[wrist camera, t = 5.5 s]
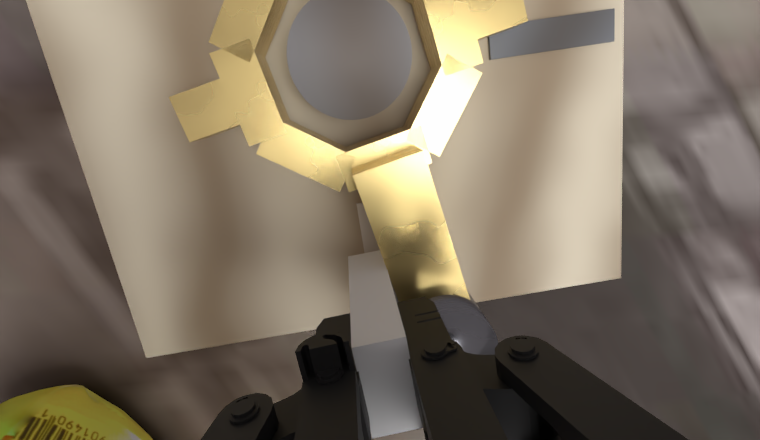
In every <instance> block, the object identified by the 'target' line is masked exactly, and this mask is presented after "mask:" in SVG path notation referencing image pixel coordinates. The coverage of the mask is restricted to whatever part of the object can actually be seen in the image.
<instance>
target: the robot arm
mask: <svg viewBox="0 0 760 440" xmlns="http://www.w3.org/2000/svg"><path fill="white" fill-rule="evenodd" d="M348 268H349V295H350V313H348V314H343V315H339V316H334V317H329V318H324V319H323V320H322V322H321V323H320V324H319V325H318V327H317V329H316V335H314V336H312V337H310V338H308V339H306V340H305V341H304V342H302V343H301V344H300V345H299V346H298V348H297V350H296V352H295V353H296V357H297V360H298V364H299V368H300V371H301V375H302V379H303V385H302V389H301V390H300V391H298V392H297V393H295V394H294V395H292V396H290V397H288V398H286V399H284V400H281V401H279V402H277V403H275V404H273V402H272V399H271V397H269V396H268V395H266V394H260V393H255V394H250V395H246V396H242V397H240V398H238V399H236V400H234V401H233V402H231V403H230V404H228V405H227V406H226V407H225V408H224V409H223V410H222V411H221V412H220V413H219V414H218V416H217V417H216V419H215V420H214V422H213V423H212V424H211V426H210V427H209V429H208V430H207V431H206V433H205V434H204V436H203V437H202V439H201V440H371V435H372V439H373V438H378V437H382V436H387V435H391V434H397V433H401V432H406V431H410V430H415V429H419V428H423V429H424V434H425V439H426V440H688V439H687V438H685V437H684V436H682V435H681V434H679V433H678V432H677V431H675V430H674V429H672V428H671V427H669V426H668V425H666V424H665V423H663V422H662V421H660V420H659V419H658V418H656V417H655V416H653V415H652V414H650V413H649V412H647V411H646V410H644V409H643V408H642V407H640V406H639V405H637V404H636V403H634V402H633V401H631V400H630V399H628V398H627V397H625V396H624V395H623V394H621V393H620V392H618V391H617V390H615V389H614V388H612V387H611V386H609V385H608V384H607V383H605V382H604V381H602V380H601V379H599V378H598V377H596V376H595V375H593V374H592V373H590V372H589V371H588V370H586V369H585V368H583V367H582V366H580V365H579V364H577V363H576V362H574V361H573V360H572V359H570V358H569V357H567V356H566V355H564V354H563V353H561V352H560V351H558V350H557V349H555V348H554V347H553V346H551V345H550V344H548V343H547V342H545V341H543V340H541V339H539V338H535V337H530V336H514V337H510V338H506V339H505V340H503V341H501V342H499V343H498V345H497V346H496V347H495V355H478V354H471V353H467V352H464V351H463V349H462V347H461V346H460V345H459V344H458V343H457V342H456V341H454V340H452V339H451V337H450V335H449V333H448V331H447V329H446V327H445V324H444V322H443V320H442V318H441V316H440V314H439V312H438V310H437V307H436V305H435V303H434V302H433V301H431V300H430V299H428V298H426V297H425V296H424V297H420V298H415V299H410V300H405V301H400V302H396V299H395V295H394V292H393V288H392V284H391V281H390V277H389V274H388V270H387V268H386V266H385V263H384V260H383V257H382V255H381V252H380V250H378V251H373V252H368V253H363V254H358V255H353V256H348ZM370 431H371V432H370Z"/></svg>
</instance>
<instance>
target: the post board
mask: <svg viewBox="0 0 760 440" xmlns="http://www.w3.org/2000/svg"><path fill="white" fill-rule="evenodd" d="M26 2H27V5H28V8H29V11H30V14H31V17H32V20H33V23H34V26H35V29H36V32H37V35H38V38H39V41H40V44H41V47H42V50H43V53H44V56H45V59H46V62H47V65H48V68H49V71H50V74H51V77H52V80H53V83H54V85H55V88H56V91H57V94H58V97H59V100H60V103H61V106H62V109H63V112H64V115H65V118H66V121H67V124H68V127H69V130H70V133H71V136H72V139H73V142H74V145H75V148H76V151H77V154H78V157H79V160H80V163H81V166H82V169H83V172H84V175H85V178H86V181H87V183H88V186H89V189H90V192H91V195H92V198H93V201H94V204H95V207H96V210H97V213H98V216H99V219H100V222H101V225H102V228H103V231H104V234H105V237H106V240H107V243H108V246H109V249H110V252H111V255H112V258H113V261H114V264H115V267H116V270H117V273H118V276H119V278H120V281H121V284H122V287H123V290H124V293H125V296H126V299H127V302H128V305H129V308H130V311H131V314H132V317H133V320H134V323H135V326H136V329H137V332H138V335H139V338H140V341H141V344H142V347H143V350H144V353H145V356H146V358H150V357H155V356H161V355H167V354H173V353H179V352H185V351H191V350H197V349H203V348H209V347H215V346H221V345H227V344H232V343H238V342H244V341H250V340H256V339H262V338H268V337H274V336H280V335H286V334H292V333H298V332H303V331H309V330H315V329H317V327H318V325H319V324H320V323H321V322H322V320H323V319H324V318H329V317H334V316H339V315H343V314H348V313H350V295H349V268H348V256H353V255H358V254H363V253H368V252H373V251H378V250H380V249H379V246H378V244H377V241H376V238H375V235H374V233H373V230H372V227H371V225H370V222H369V219H368V216H367V214H366V211H365V208H364V205H363V203H362V200H361V197H360V194H359V192H358V189H357V190H355V191H352V192H349V191H348V188H347V185H346V183H345V182H344V184H343V186H342V189H341V191H340V192H338V191H336V190H334V189H332V188H330V187H327V186H325V185H323V184H321V183H319V182H316V181H314V180H312V179H310V178H308V177H305V176H303V175H301V174H299V173H297V172H295V171H292V170H290V169H288V168H286V167H284V166H281V165H279V164H277V163H275V162H273V161H270V160H268V159H266V158H264V157H262V156H259V155H257V154H256V153H257V151H258V148H259V146H260V143H258V144H255V145H252V146H249V145H248V143H247V141H246V138H245V136H244V134H243V131H242V129H241V126H239V127H236V128H233V129H230V130H228V131H225V132H222V133H219V134H217V135H214V136H211V137H208V138H205V139H202V140H198V141H194V142H189V140H188V138H187V136H186V134H185V131H184V129H183V127H182V125H181V123H180V121H179V119H178V116H177V114H176V112H175V110H174V108H173V106H172V104H171V101H170V99H169V97H170V96H173V95H176V94H178V93H181V92H184V91H187V90H190V89H192V88H195V87H198V86H201V85H203V84H206V83H209V82H212V81H215V80H217V79H220V77H219V75H218V73H217V70H216V68H215V66H214V63H213V61H212V59H211V56H210V54H209V53H211V52H214V51H217V50H220V49H221V48H219V47H217V46H215V45H213V44H211V43H209V40H210V37H211V34H212V32H213V29H214V26H215V23H216V21H217V18H218V15H219V13H220V10H221V7H222V4H223V2H224V0H26ZM524 5H525V9H526V14H527V18H528V21H527V22H525V23H523V24H520V25H518V26H516V27H514V28H512V29H509V30H506V31H504V32H501V33H498V34H495V35H493V36H490V37H487V38H484V39H481V40H479V41H478V43H479V47H480V51H481V55H482V59H483V63H481V64H479V65H476V66H473V67H472V68H474V69H476V70H478V71H480V72H481V73H482V75H481V77H480V79H479V81H478V83H477V85H476V87H475V89H474V90H473V92H472V94H471V96H470V98H469V100H468V102H467V104H466V106H465V108H464V110H463V112H462V114H461V116H460V118H459V120H458V122H457V124H456V126H455V127H454V129H453V131H452V133H451V135H450V137H449V139H448V141H447V143H446V145H445V147H444V149H443V151H442V153H441V155H440V157H439V156H437V155H435V154H433V153H431V152H429V154H430V157H431V161H432V163H431V164H428V167H429V170H430V173H431V176H432V179H433V183H434V186H435V189H436V192H437V195H438V199H439V202H440V205H441V208H442V211H443V215H444V218H445V221H446V224H447V227H448V231H449V234H450V237H451V240H452V243H453V247H454V250H455V253H456V256H457V260H458V263H459V266H460V269H461V272H462V276H463V279H464V282H465V285H466V288H467V290H468V292H469V293H470V295H471V296H472V298H473V299H474V301H475V302H481V301H487V300H493V299H499V298H505V297H511V296H517V295H523V294H528V293H534V292H540V291H546V290H552V289H558V288H564V287H570V286H576V285H582V284H588V283H594V282H600V281H605V280H611V279H617V278H621V227H622V133H623V40H624V0H524ZM265 58H266V60H267V63H268V66H269V68H270V71H271V73H272V76H273V78H274V81H275V83H276V86H277V88H278V91H279V93H280V96H281V99H282V101H283V104H284V106H285V109H286V111H287V114H288V116H289V119H290V120H291V121H293V122H295V123H297V124H299V125H301V126H303V127H305V128H308V129H310V130H312V131H314V132H316V133H318V134H320V135H322V136H324V137H326V138H328V139H331V140H333V141H335V142H337V143H339V144H341V145H343V146H345V147H347V146H350V145H352V144H355V143H358V142H361V141H364V140H366V139H369V138H372V137H375V136H378V135H381V134H383V133H386V132H389V131H392V130H395V129H397V128H400V127H403V125H404V123H405V121H406V119H407V117H408V115H409V113H410V111H411V109H412V107H413V105H414V103H415V101H416V99H417V97H418V95H419V93H420V91H421V88H422V86H423V84H424V82H425V80H426V78H427V76H428V74H429V72H430V70H431V69H430V66H429V62H428V59H427V55H426V52H425V49H424V45H423V42H422V38H421V35H420V31H419V28H418V25H417V21H416V18H415V14H414V11H413V7H412V4H410V3H408V2H406V1H405V0H288V2H287V4H286V7H285V9H284V12H283V14H282V17H281V19H280V22H279V24H278V27H277V29H276V32H275V34H274V37H273V39H272V42H271V44H270V47H269V49H268V52H267V54H266V57H265ZM389 277H390V276H389ZM390 281H391V279H390ZM391 284H392V282H391ZM392 288H394V287H393V285H392Z"/></svg>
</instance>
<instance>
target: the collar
mask: <svg viewBox="0 0 760 440" xmlns="http://www.w3.org/2000/svg"><path fill="white" fill-rule="evenodd" d="M405 1H406V2H408V3H410V4H412V7H413V11H414V14H415V18H416V21H417V25H418V28H419V31H420V35H421V38H422V42H423V45H424V49H425V52H426V55H427V59H428V62H429V66H430V69H431V70H430V72H429V74H428V76H427V78H426V80H425V82H424V84H423V86H422V88H421V91H420V93H419V95H418V97H417V99H416V101H415V103H414V105H413V107H412V109H411V111H410V113H409V115H408V117H407V119H406V121H405V123H404V125H403V127H400V128H397V129H395V130H392V131H389V132H386V133H383V134H381V135H378V136H375V137H372V138H369V139H366V140H364V141H361V142H358V143H355V144H352V145H350V146H347V147H345V146H343V145H341V144H339V143H337V142H335V141H333V140H331V139H328V138H326V137H324V136H322V135H320V134H318V133H316V132H314V131H312V130H310V129H308V128H305V127H303V126H301V125H299V124H297V123H295V122H293V121H291V120H290V119H289V116H288V114H287V111H286V109H285V106H284V104H283V101H282V99H281V96H280V93H279V91H278V88H277V86H276V83H275V81H274V78H273V76H272V73H271V71H270V68H269V66H268V63H267V60H266V58H265V57H266V54H267V52H268V49H269V47H270V44H271V42H272V39H273V37H274V34H275V32H276V29H277V27H278V24H279V22H280V19H281V17H282V14H283V12H284V9H285V7H286V4H287V2H288V0H224V2H223V4H222V7H221V10H220V13H219V15H218V18H217V21H216V23H215V26H214V29H213V32H212V34H211V37H210V40H209V43H211V44H213V45H215V46H217V47H219V48H221V49H220V50H217V51H214V52H211V53H209V54H210V56H211V59H212V61H213V63H214V66H215V68H216V70H217V73H218V75H219V77H220V79H217V80H215V81H212V82H209V83H206V84H203V85H201V86H198V87H195V88H192V89H190V90H187V91H184V92H181V93H178V94H176V95H173V96H170V97H169V99H170V101H171V104H172V106H173V108H174V110H175V112H176V114H177V116H178V119H179V121H180V123H181V125H182V127H183V129H184V131H185V134H186V136H187V138H188V140H189V142H194V141H198V140H202V139H205V138H208V137H211V136H214V135H217V134H219V133H222V132H225V131H228V130H230V129H233V128H236V127H239V126H241V129H242V131H243V134H244V136H245V138H246V141H247V143H248V145H249V146H252V145H255V144H258V143H260V146H259V148H258V151H257V153H256V154H257V155H259V156H262V157H264V158H266V159H268V160H270V161H273V162H275V163H277V164H279V165H281V166H284V167H286V168H288V169H290V170H292V171H295V172H297V173H299V174H301V175H303V176H305V177H308V178H310V179H312V180H314V181H316V182H319V183H321V184H323V185H325V186H327V187H330V188H332V189H334V190H336V191H338V192H340V191H341V189H342V186H343V184H344V182H345V183H346V185H347V188H348V191H349V192H352V191H355V190H357V189H358V192H359V194H360V197H361V200H362V203H363V205H364V208H365V211H366V214H367V216H368V219H369V222H370V225H371V227H372V230H373V233H374V235H375V238H376V241H377V244H378V246H379V249H380V252H381V255H382V257H383V260H384V263H385V266H386V268H387V270H388V274H389V276H390V279H391V282H392V285H393V287H394V288H393V292H394V295H395V299H396V302H400V301H405V300H410V299H415V298H420V297H424V296H425V297H426V298H428V299H430V300H431V301H433V302H434V303H435V305H436V307H437V310H438V312H439V314H440V316H441V318H442V320H443V322H444V324H445V327H446V329H447V331H448V333H449V335H450V337H451V339H452V340H454V341H456V342H457V343H458V344H459V345H460V346H461V347H462V349H463V351H464V352H467V353H471V354H478V355H495V347H496V346H497V345H498V340H497V336H496V334H495V332H494V330H493V329H492V327H491V325H490V324H489V322H488V321H487V319H486V318H485V316H484V315H483V313H482V312H481V310H480V309H479V307H478V306H477V304H476V303H475V301H474V299H473V298H472V296H471V295H470V293H469V292H468V290H467V288H466V285H465V282H464V279H463V276H462V272H461V269H460V266H459V263H458V260H457V256H456V253H455V250H454V247H453V243H452V240H451V237H450V234H449V231H448V227H447V224H446V221H445V218H444V215H443V211H442V208H441V205H440V202H439V199H438V195H437V192H436V189H435V186H434V183H433V179H432V176H431V173H430V170H429V167H428V164H431V163H432V161H431V157H430V154H429V152H431V153H433V154H435V155H437V156H439V157H440V155H441V153H442V151H443V149H444V147H445V145H446V143H447V141H448V139H449V137H450V135H451V133H452V131H453V129H454V127H455V126H456V124H457V122H458V120H459V118H460V116H461V114H462V112H463V110H464V108H465V106H466V104H467V102H468V100H469V98H470V96H471V94H472V92H473V90H474V89H475V87H476V85H477V83H478V81H479V79H480V77H481V75H482V73H481V72H480V71H478V70H476V69H474V68H472V67H473V66H476V65H479V64H481V63H483V59H482V55H481V51H480V47H479V43H478V41H479V40H481V39H484V38H487V37H490V36H493V35H495V34H498V33H501V32H504V31H506V30H509V29H512V28H514V27H516V26H518V25H520V24H523V23H525V22H527V21H528V18H527V14H526V9H525V5H524V0H405Z"/></svg>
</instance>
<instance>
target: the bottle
mask: <svg viewBox="0 0 760 440" xmlns="http://www.w3.org/2000/svg"><path fill="white" fill-rule="evenodd" d="M0 440H153V439H152V438H151V437H150V435H149V434H148V433H146V432H145V431H144V430H143V429H142V428H141V427H140V426H139V425H138V424H137V423H136V422H135V421H134V420H133V419H132V418H131V417H130V416H129V415H128V414H126V413H125V412H124V411H123V410H121V409H120V408H118V407H117V406H115V405H113V404H111V403H110V402H108V401H106V400H105V399H103V398H101V397H100V396H98V395H97V394H95V393H93V392H92V391H90V390H89V389H87V388H85V387H84V386H82V385H76V384H74V385H62V386H56V387H51V388H46V389H42V390H37V391H34V392H31V393H27V394H24V395H20V396H17V397H14V398H11V399H9V400H7V401H5V402H3V403H1V404H0Z"/></svg>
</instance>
